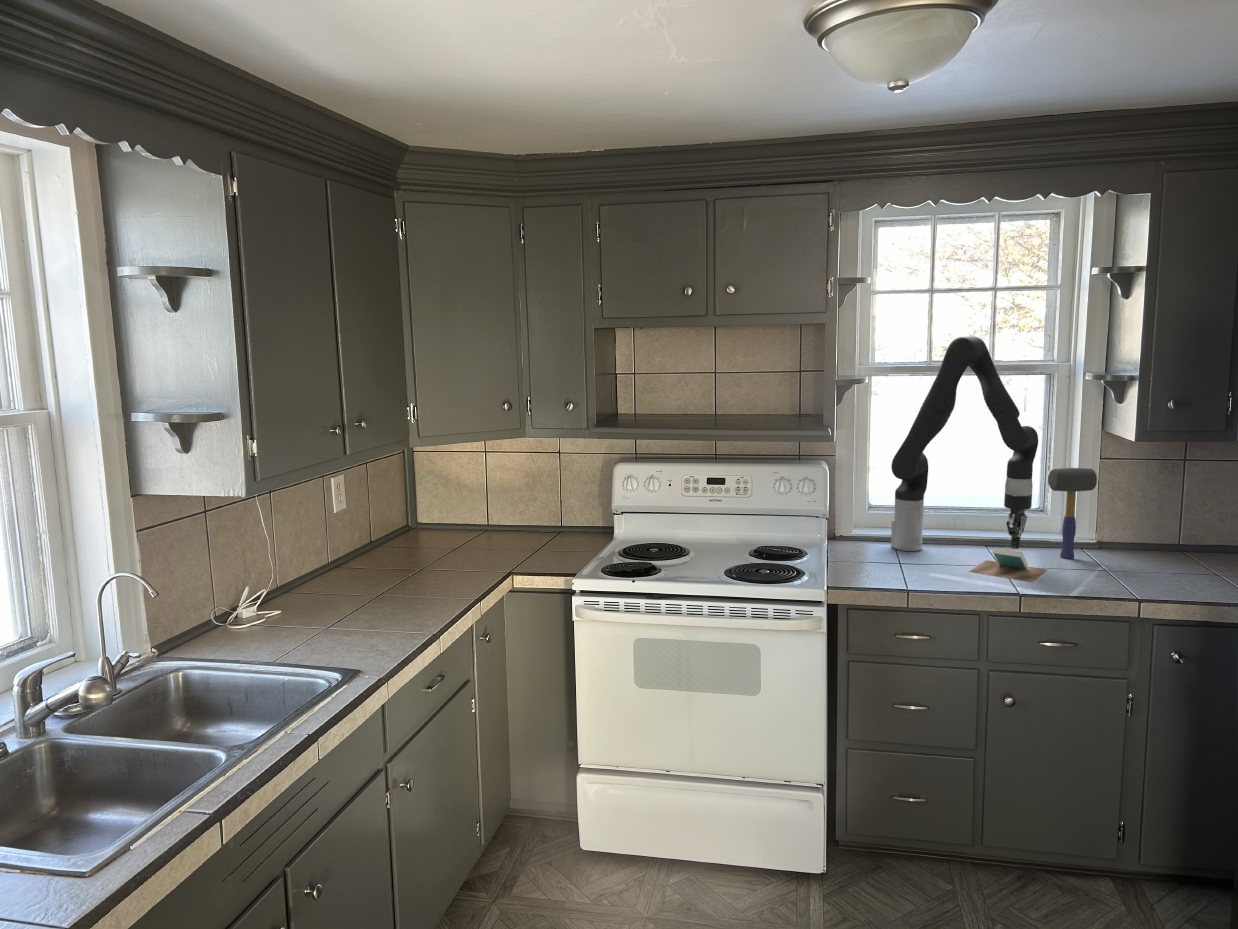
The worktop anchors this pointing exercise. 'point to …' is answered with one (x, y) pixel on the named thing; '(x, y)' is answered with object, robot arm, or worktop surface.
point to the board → (1008, 571)
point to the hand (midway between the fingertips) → (1015, 548)
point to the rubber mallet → (1071, 500)
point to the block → (1010, 558)
